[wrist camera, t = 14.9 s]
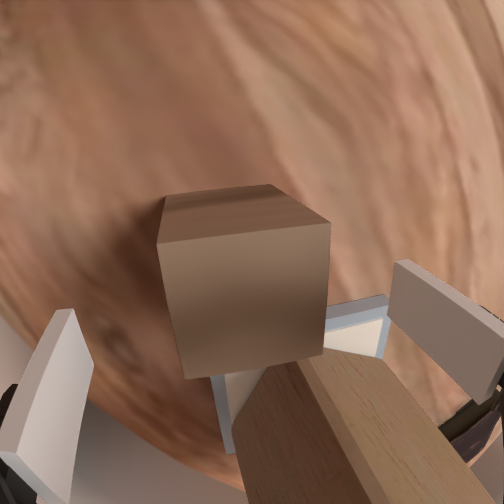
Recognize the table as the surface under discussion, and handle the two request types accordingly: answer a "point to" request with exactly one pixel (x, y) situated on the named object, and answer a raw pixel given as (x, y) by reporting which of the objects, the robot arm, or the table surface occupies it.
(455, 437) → the diary
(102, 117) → the table surface
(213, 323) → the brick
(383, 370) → the block
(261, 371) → the board
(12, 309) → the table surface
